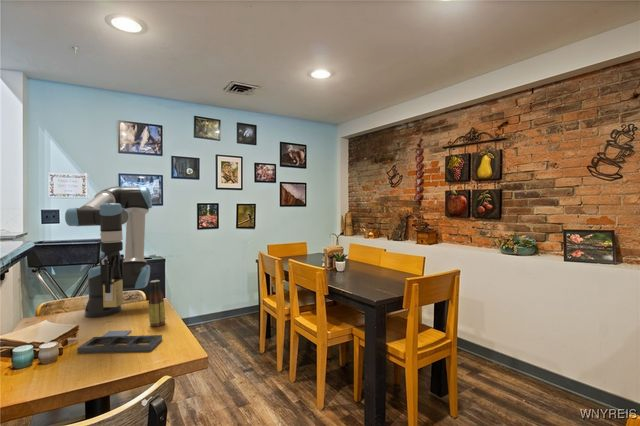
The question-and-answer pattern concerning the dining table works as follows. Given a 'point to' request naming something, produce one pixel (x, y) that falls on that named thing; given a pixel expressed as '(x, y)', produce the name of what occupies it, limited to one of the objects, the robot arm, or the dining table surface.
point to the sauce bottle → (156, 305)
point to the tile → (117, 333)
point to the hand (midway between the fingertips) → (113, 298)
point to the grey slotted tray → (112, 347)
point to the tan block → (114, 294)
